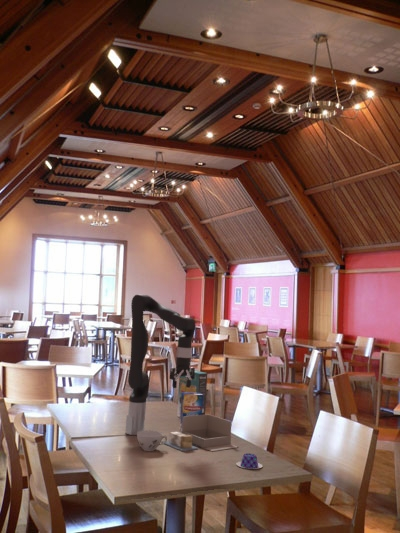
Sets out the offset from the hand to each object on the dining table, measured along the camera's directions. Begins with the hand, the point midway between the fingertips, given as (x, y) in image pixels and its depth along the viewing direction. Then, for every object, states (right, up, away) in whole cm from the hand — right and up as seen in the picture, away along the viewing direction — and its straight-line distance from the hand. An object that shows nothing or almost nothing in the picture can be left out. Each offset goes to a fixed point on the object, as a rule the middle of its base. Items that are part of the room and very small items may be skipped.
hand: (181, 387), depth 289 cm
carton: (+14, -30, +2) cm, 33 cm away
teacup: (-14, -27, -16) cm, 34 cm away
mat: (-1, -28, -6) cm, 29 cm away
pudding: (+32, -29, -33) cm, 55 cm away
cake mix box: (+4, -33, +59) cm, 67 cm away
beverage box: (+4, -30, +22) cm, 38 cm away
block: (-1, -28, -6) cm, 28 cm away
